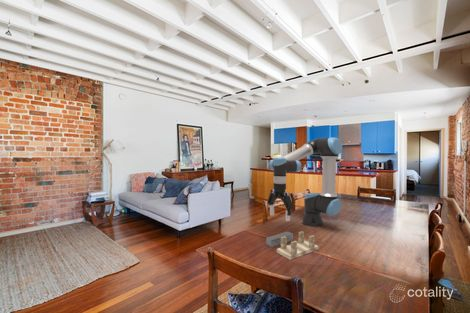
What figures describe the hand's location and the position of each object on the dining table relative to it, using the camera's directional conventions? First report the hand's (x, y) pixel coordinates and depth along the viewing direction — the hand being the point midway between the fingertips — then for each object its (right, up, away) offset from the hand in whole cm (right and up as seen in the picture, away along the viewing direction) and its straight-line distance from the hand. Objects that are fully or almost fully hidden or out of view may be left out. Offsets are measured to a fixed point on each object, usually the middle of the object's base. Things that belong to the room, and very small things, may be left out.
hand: (279, 218), depth 136 cm
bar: (0, -15, +1) cm, 15 cm away
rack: (+8, -15, -11) cm, 20 cm away
